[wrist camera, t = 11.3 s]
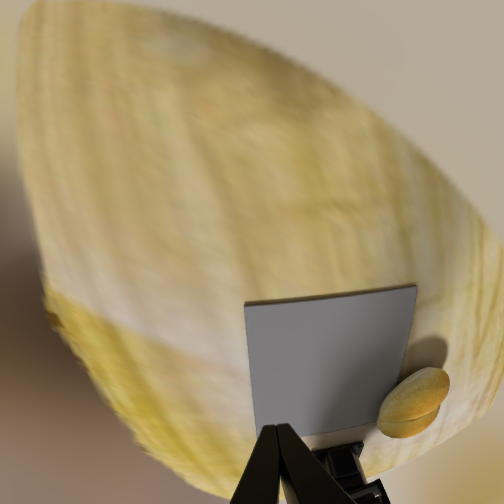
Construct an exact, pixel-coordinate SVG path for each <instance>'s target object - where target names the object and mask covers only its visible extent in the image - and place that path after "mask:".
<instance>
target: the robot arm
mask: <svg viewBox="0 0 504 504" xmlns="http://www.w3.org/2000/svg"><path fill="white" fill-rule="evenodd" d="M363 447H364V443H363V442H358V443H353V444H349V445H345V446H341V447H336V448H331V449H326V450H321V451H315V452H311V451H310V449H309V448H308V447H307V446H306V444H305V443H304V442H303V441H302V439H301V438H300V437H299V436H298V434H297V433H296V432H295V430H294V429H293V428H292V427H291V425H290V424H289V423H280V424H277V425H274V424H270V425H264V426H263V427H262V429H261V432H260V434H259V437H258V439H257V442H256V444H255V446H254V449H253V451H252V454H251V456H250V458H249V461H248V463H247V465H246V468H245V470H244V472H243V475H242V477H241V479H240V481H239V484H238V486H237V488H236V490H235V492H234V494H233V497H232V499H231V501H230V504H279V492H280V478H281V483H282V487H283V491H284V494H285V498H286V501H287V504H391V503H390V501H389V498H388V496H387V494H386V491H385V489H384V487H383V485H382V483H381V480H380V479H377V480H375V481H373V482H371V483H367V480H366V477H365V475H364V472H363V469H362V466H361V464H360V461H359V457H360V454H361V452H362V449H363ZM376 495H379V496H377V497H375V496H376Z"/></svg>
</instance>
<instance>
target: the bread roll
mask: <svg viewBox="0 0 504 504" xmlns="http://www.w3.org/2000/svg"><path fill="white" fill-rule="evenodd" d="M449 385H450V380H449V376H448V374H447V373H446V372H445V371H444V370H442V369H440V368H434V367H426V368H423V369H421V370H419V371H417V372H415V373H413V374H412V375H410V376H409V377H407V378H406V379H405V380H404V381H402V382H401V383H400V384H399V385H398V386H397V387H396V388H395V389H393V390H392V391H391V392H390V393H389V394H388V396H387V397H386V398H385V400H384V401H383V403H382V405H381V407H380V410H379V416H378V418H377V426H378V428H379V430H381V432H382V433H383V434H384V435H386V436H389V437H391V438H408V437H411V436H414V435H416V434H418V433H420V432H422V431H423V430H424V429H426V428H427V427H428V426H429V425H430V424H431V423H432V422H433V421H434V420H435V418H436V417H437V414H438V412H439V409H440V404H441V403H442V401H443V400H444V399H445V397H446V396H447V393H448V391H449Z"/></svg>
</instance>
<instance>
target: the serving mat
mask: <svg viewBox="0 0 504 504" xmlns="http://www.w3.org/2000/svg"><path fill="white" fill-rule="evenodd" d="M417 289H418V286H411V287H404V288H398V289H391V290H385V291H378V292H371V293H363V294H356V295H348V296H340V297H331V298H323V299H314V300H304V301H294V302H283V303H272V304H260V305H247V306H244V313H245V323H246V334H247V345H248V355H249V366H250V376H251V386H252V396H253V405H254V415H255V424H256V434H257V439H258V437H259V434H260V432H261V429H262V427H263V426H264V425H270V424H274V425H277V424H280V423H289V424H290V425H291V427H292V428H293V429H294V430H295V432H296V433H297V434H298V436H299V437H303V436H310V435H316V434H322V433H327V432H332V431H337V430H342V429H347V428H351V427H355V426H359V425H363V424H367V423H371V422H375V421H377V418H378V416H379V410H380V407H381V405H382V403H383V401H384V400H385V398H386V397H387V396H388V394H389V393H390V392H391V391H392V390H393V389H395V387H396V383H397V380H398V377H399V373H400V370H401V366H402V362H403V358H404V355H405V351H406V346H407V342H408V338H409V333H410V328H411V324H412V318H413V313H414V308H415V302H416V295H417Z"/></svg>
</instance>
